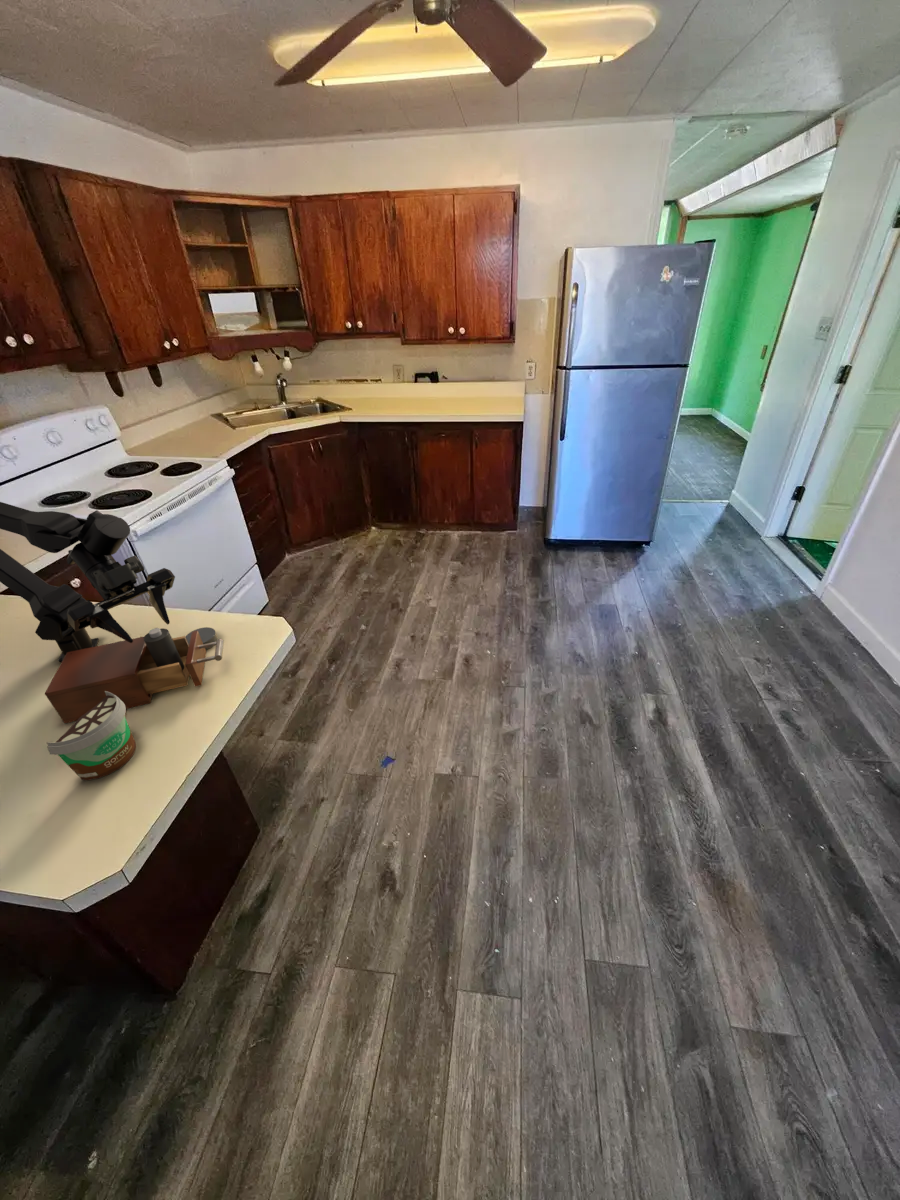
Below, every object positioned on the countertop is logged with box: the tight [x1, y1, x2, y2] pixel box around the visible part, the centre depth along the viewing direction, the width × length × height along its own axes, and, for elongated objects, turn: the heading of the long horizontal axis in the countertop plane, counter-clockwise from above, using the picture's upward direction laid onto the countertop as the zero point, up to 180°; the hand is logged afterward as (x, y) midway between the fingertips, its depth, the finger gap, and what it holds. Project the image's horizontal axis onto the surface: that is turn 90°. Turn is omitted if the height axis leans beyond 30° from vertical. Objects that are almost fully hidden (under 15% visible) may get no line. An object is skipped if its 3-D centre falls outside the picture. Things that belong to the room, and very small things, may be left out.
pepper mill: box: [143, 627, 184, 670], centre depth 96 cm, size 4×4×10 cm
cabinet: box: [44, 636, 154, 724], centre depth 95 cm, size 15×13×8 cm
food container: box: [46, 691, 137, 781], centre depth 80 cm, size 12×6×10 cm, turn 168°
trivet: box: [184, 626, 219, 651], centre depth 109 cm, size 7×7×2 cm
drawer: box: [137, 630, 225, 694], centre depth 98 cm, size 18×11×6 cm, turn 109°
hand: (150, 632), depth 94 cm, fingers open, 7 cm apart
